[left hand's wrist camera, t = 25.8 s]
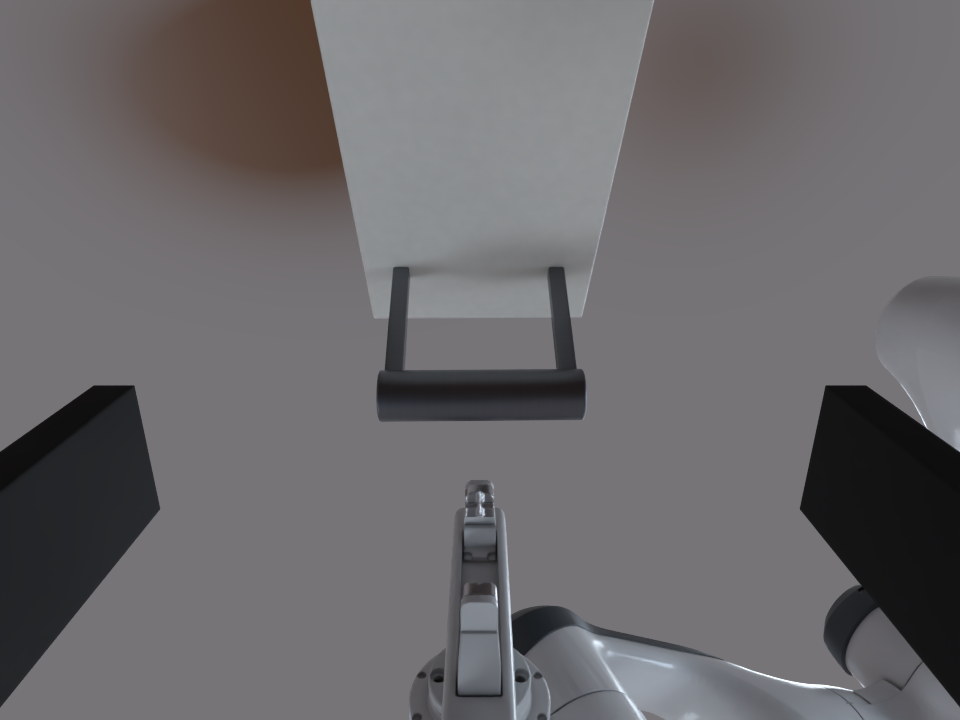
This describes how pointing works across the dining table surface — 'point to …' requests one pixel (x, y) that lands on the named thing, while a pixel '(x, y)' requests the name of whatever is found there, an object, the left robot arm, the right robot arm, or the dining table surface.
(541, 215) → the lid
